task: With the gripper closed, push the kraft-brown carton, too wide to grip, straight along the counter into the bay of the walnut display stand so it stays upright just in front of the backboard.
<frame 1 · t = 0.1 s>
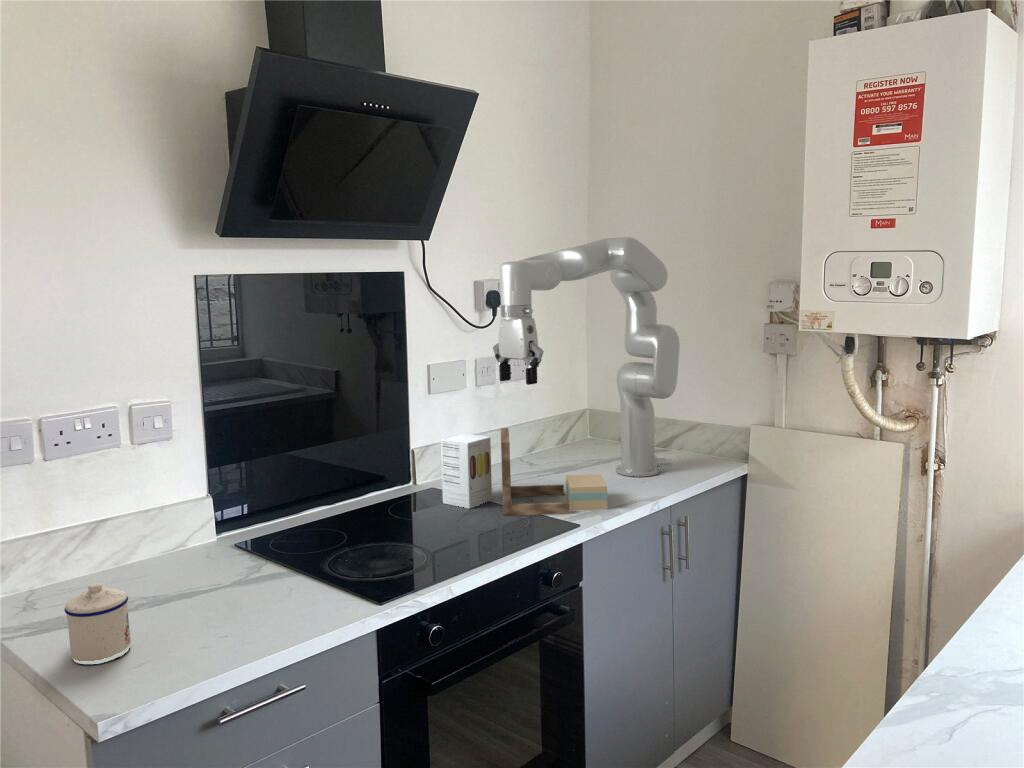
hand: (518, 382, 204), 31 cm above the worktop, tool pointing down, fingers open, 9 cm apart
teacup with lid: (98, 652, 134), on the worktop
supplement box: (467, 502, 213), on the worktop
carton: (586, 503, 209), on the worktop
display stand: (534, 504, 209), on the worktop
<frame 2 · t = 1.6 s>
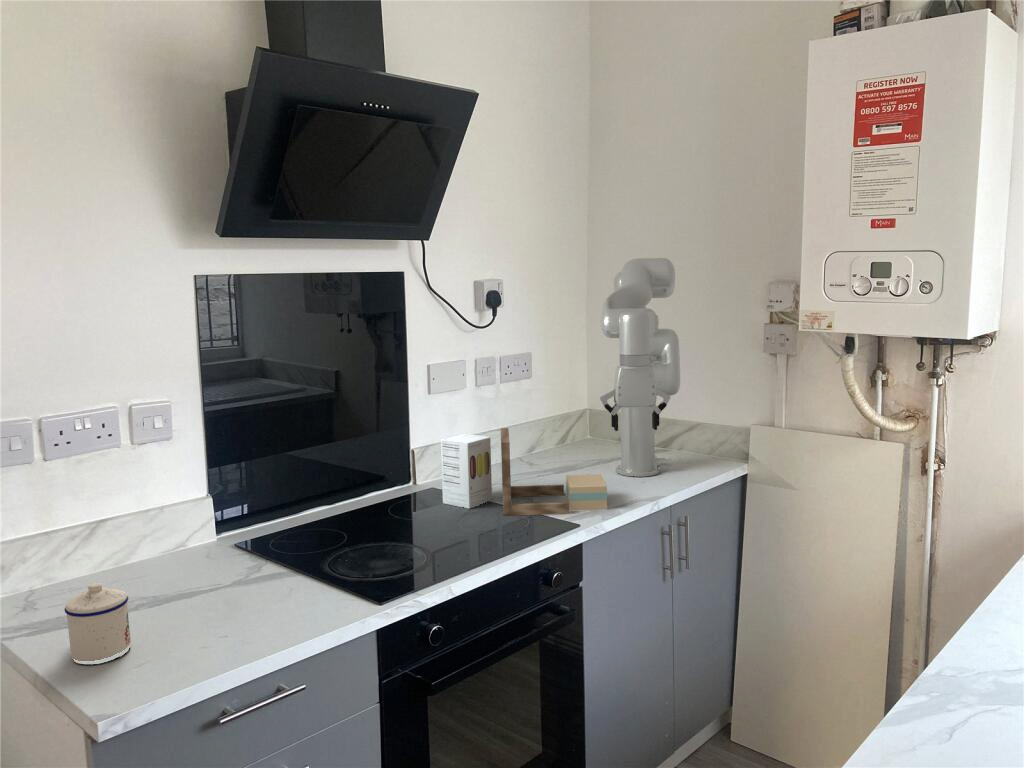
hand: (635, 429, 207), 18 cm above the worktop, tool pointing down, fingers open, 9 cm apart
nothing on the worktop moved.
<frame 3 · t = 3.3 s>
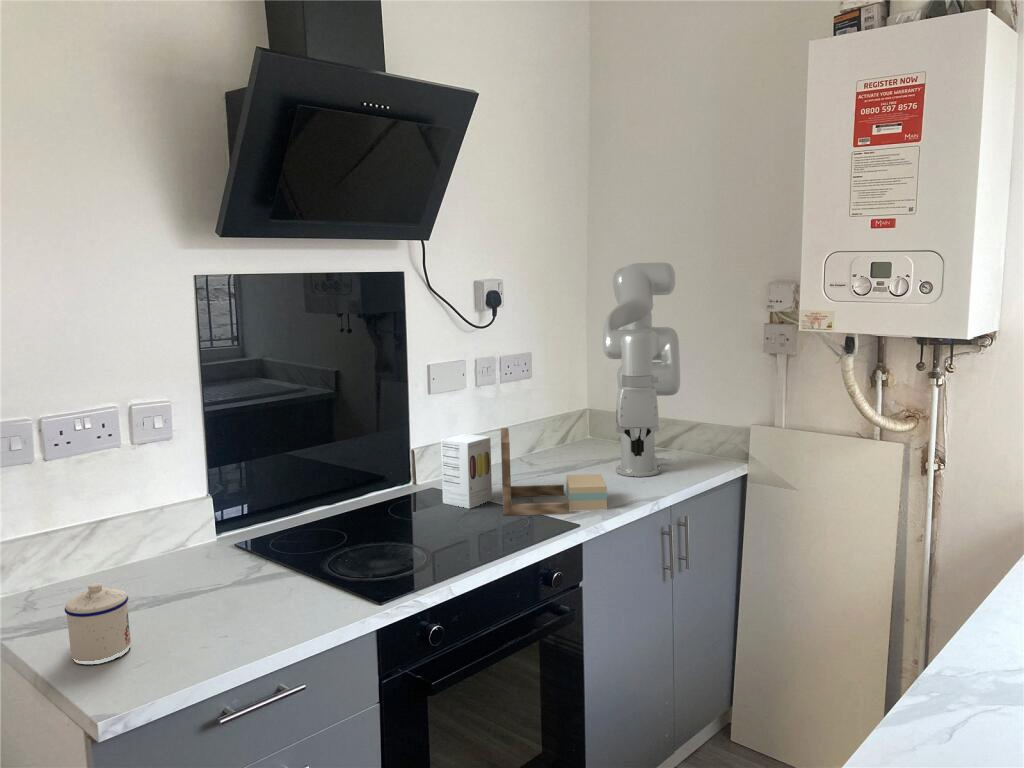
hand: (637, 455, 207), 12 cm above the worktop, tool pointing down, fingers closed
nothing on the worktop moved.
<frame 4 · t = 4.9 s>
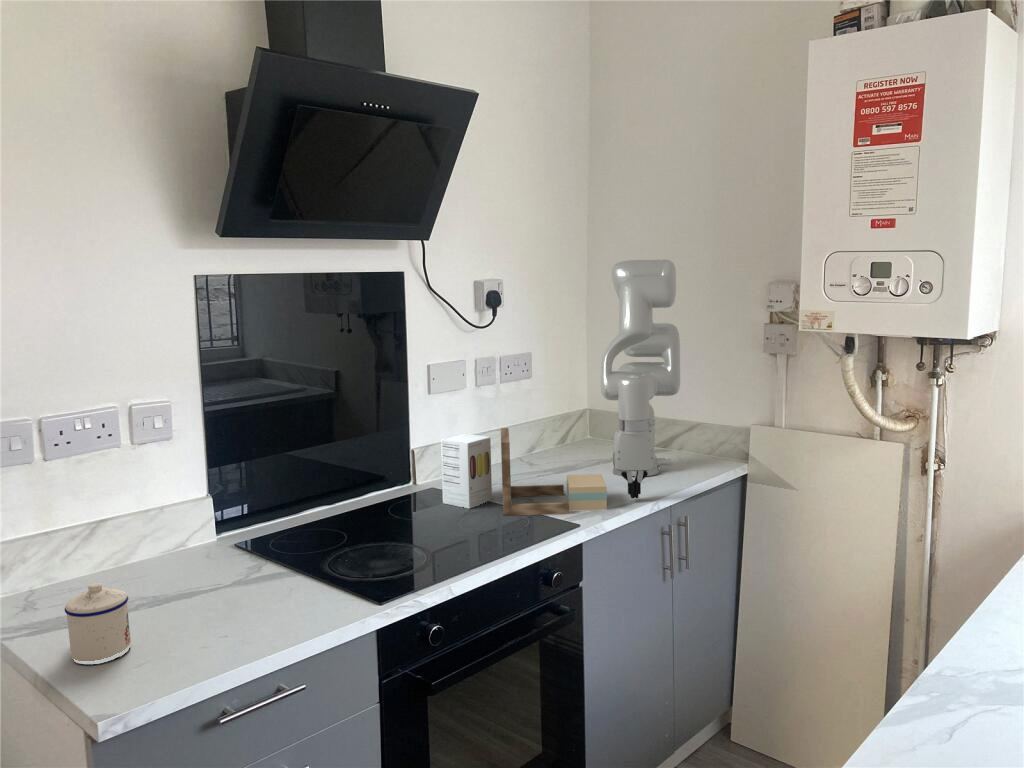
hand: (634, 496, 209), 1 cm above the worktop, tool pointing down, fingers closed
nothing on the worktop moved.
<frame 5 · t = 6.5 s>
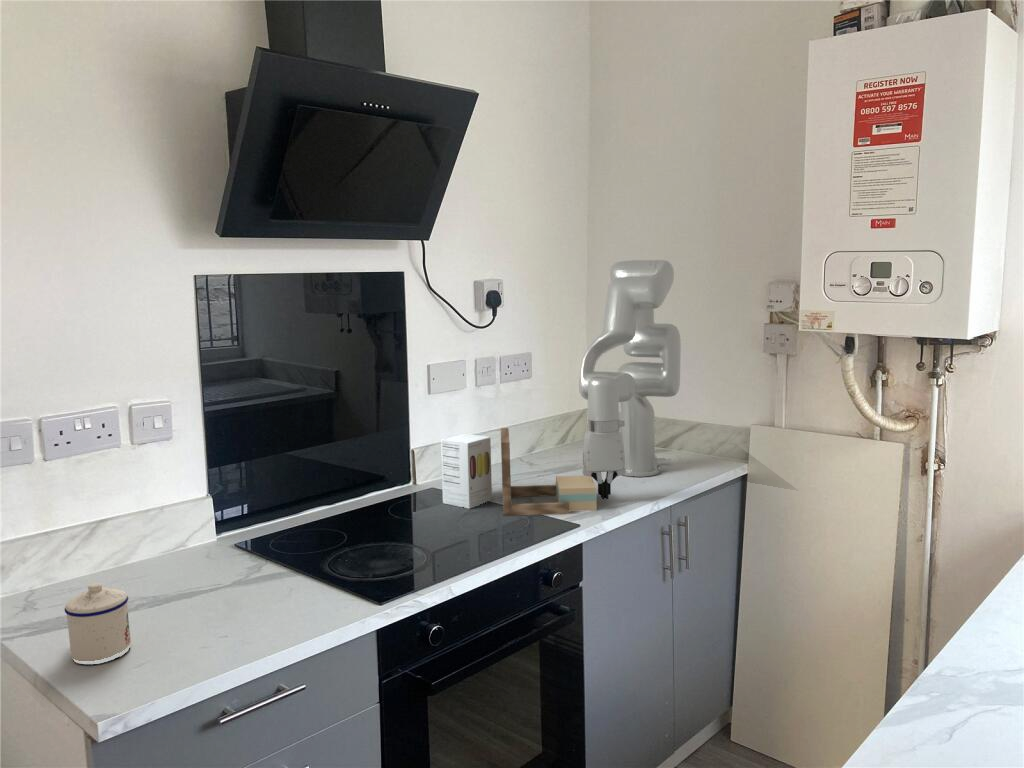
hand: (604, 497, 209), 1 cm above the worktop, tool pointing down, fingers closed
carton: (575, 504, 209), on the worktop, touching gripper
everything else where it was.
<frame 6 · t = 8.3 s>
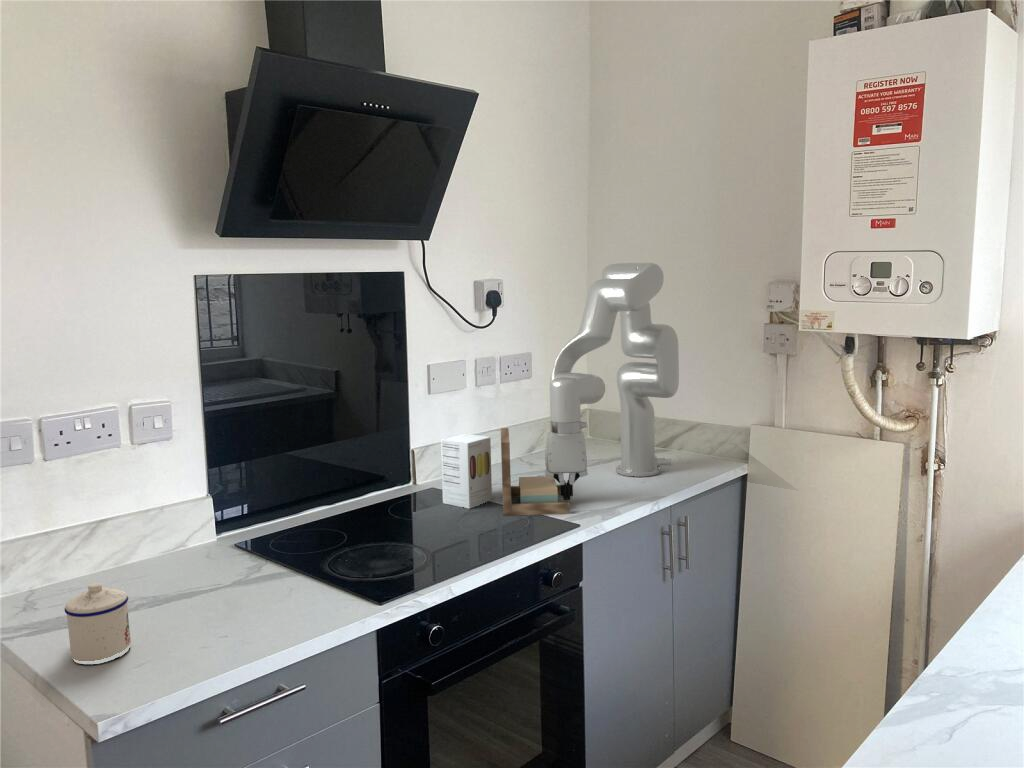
hand: (566, 498, 209), 1 cm above the worktop, tool pointing down, fingers closed
carton: (538, 505, 209), on the worktop, touching gripper
everything else where it was.
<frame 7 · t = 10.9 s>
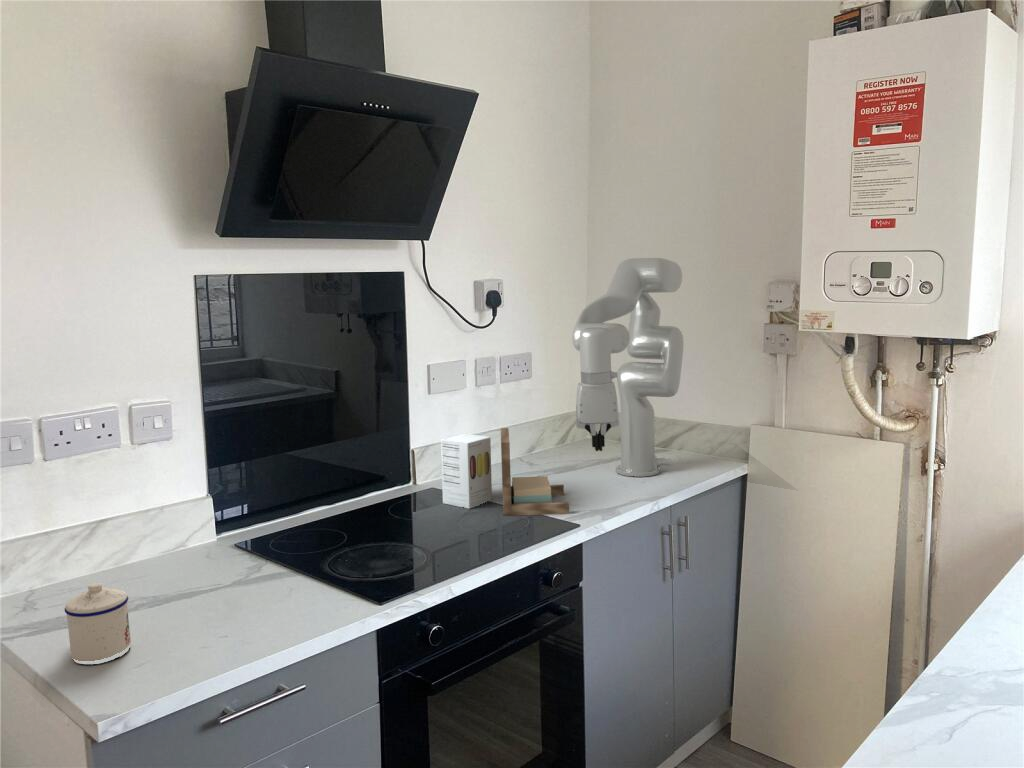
hand: (598, 449, 208), 13 cm above the worktop, tool pointing down, fingers closed
carton: (531, 506, 208), on the worktop
everything else where it was.
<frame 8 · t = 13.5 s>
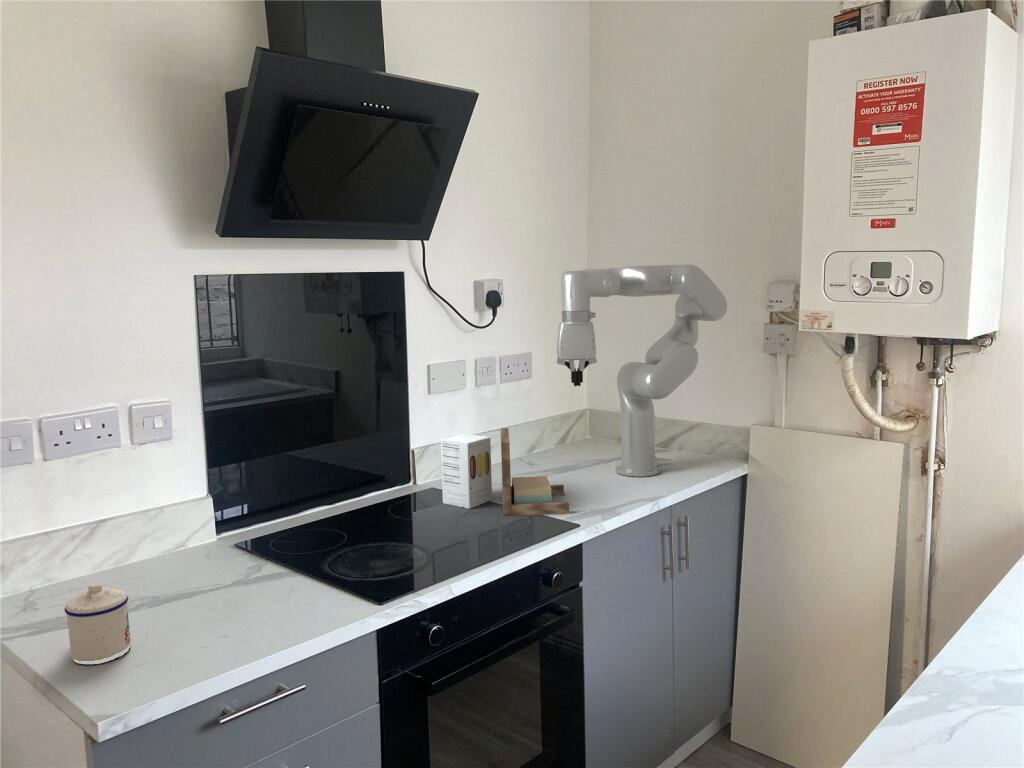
hand: (577, 385, 224), 27 cm above the worktop, tool pointing down, fingers closed
nothing on the worktop moved.
at the end: carton 2.4 cm from the target spot on the display stand, point 0.0 cm above the display stand's base; carton tilted 0°; carton moved 13.8 cm from its start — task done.
